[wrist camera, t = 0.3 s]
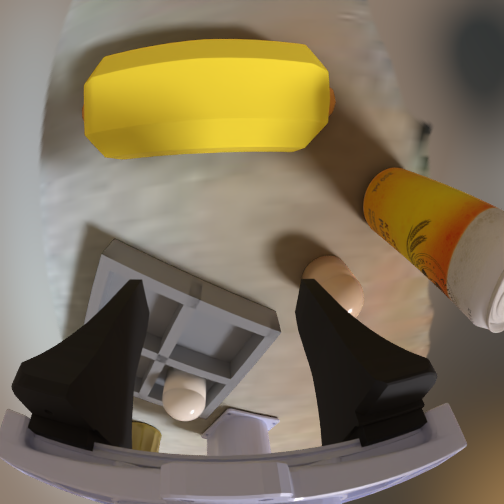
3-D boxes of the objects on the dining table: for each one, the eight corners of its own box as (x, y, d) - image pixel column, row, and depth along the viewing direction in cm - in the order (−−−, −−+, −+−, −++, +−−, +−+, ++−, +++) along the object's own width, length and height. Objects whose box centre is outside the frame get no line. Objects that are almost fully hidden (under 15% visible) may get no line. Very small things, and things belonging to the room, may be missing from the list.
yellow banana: (94, 70, 16) (96, 161, 19) (49, 56, 10) (52, 178, 13) (326, 58, 17) (325, 151, 20) (365, 37, 11) (363, 164, 14)
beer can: (347, 216, 23) (465, 330, 9) (378, 153, 21) (532, 209, 7) (395, 241, 24) (504, 344, 11) (424, 185, 22) (554, 256, 8)
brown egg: (328, 303, 26) (348, 342, 21) (292, 287, 25) (307, 326, 20) (356, 267, 25) (383, 301, 20) (319, 247, 24) (343, 280, 19)
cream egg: (197, 392, 29) (195, 432, 24) (161, 380, 28) (154, 420, 23) (213, 371, 28) (212, 414, 23) (174, 357, 27) (167, 400, 22)
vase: (150, 442, 36) (142, 515, 24) (117, 427, 34) (103, 503, 21) (168, 433, 35) (162, 514, 22) (134, 416, 33) (119, 502, 20)
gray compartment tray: (206, 399, 31) (206, 419, 29) (84, 352, 27) (76, 370, 24) (275, 311, 26) (281, 332, 23) (114, 238, 22) (101, 254, 19)
